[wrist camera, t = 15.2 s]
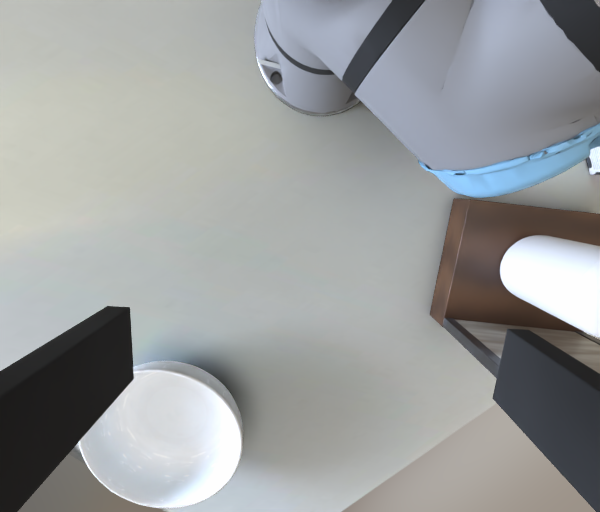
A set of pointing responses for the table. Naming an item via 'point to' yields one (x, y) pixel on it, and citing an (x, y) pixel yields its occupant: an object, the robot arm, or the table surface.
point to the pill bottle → (556, 278)
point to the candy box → (594, 161)
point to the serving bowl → (167, 437)
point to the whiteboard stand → (489, 287)
